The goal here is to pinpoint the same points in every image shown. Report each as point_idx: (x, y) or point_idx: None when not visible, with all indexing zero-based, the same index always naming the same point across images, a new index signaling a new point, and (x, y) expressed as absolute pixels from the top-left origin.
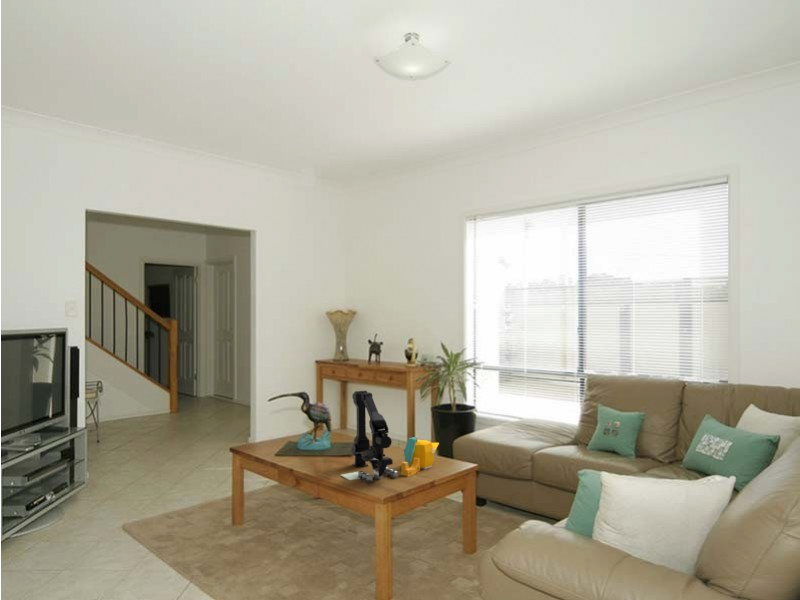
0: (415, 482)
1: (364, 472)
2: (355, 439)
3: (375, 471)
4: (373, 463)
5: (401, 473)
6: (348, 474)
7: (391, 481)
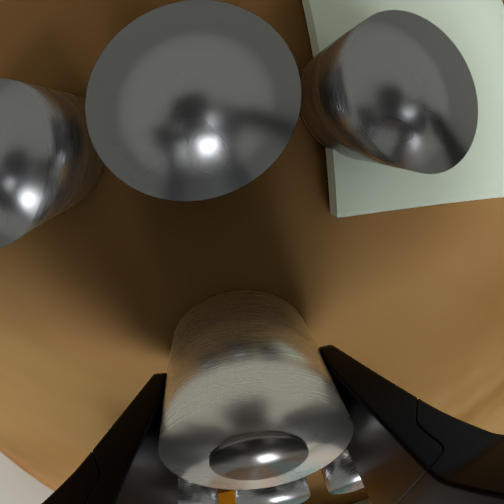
0: (46, 471)
1: (370, 139)
2: None
3: (189, 401)
4: (429, 495)
5: (234, 499)
6: (497, 38)
7: (55, 404)
